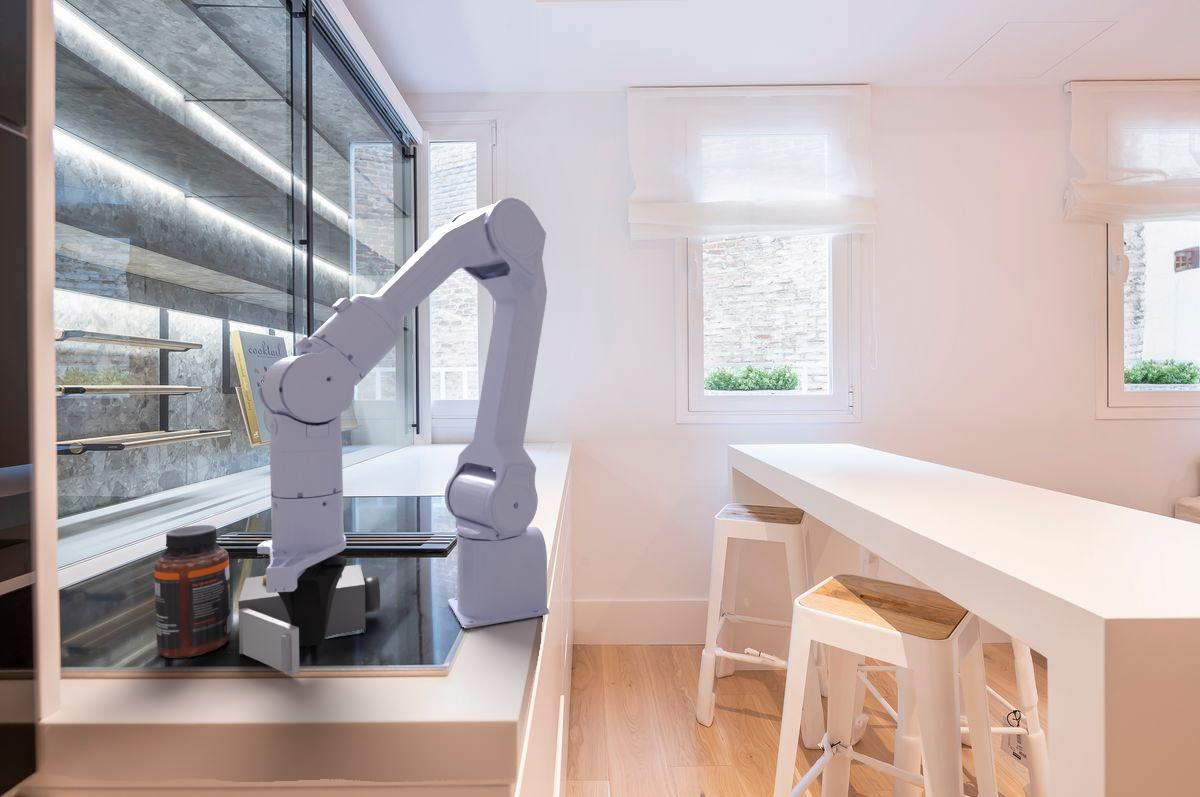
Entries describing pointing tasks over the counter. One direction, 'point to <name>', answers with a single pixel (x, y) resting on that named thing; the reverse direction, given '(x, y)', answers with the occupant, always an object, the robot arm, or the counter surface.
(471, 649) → the counter surface
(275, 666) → the side door
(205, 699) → the counter surface
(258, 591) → the block
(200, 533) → the supplement bottle
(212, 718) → the counter surface
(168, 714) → the counter surface
